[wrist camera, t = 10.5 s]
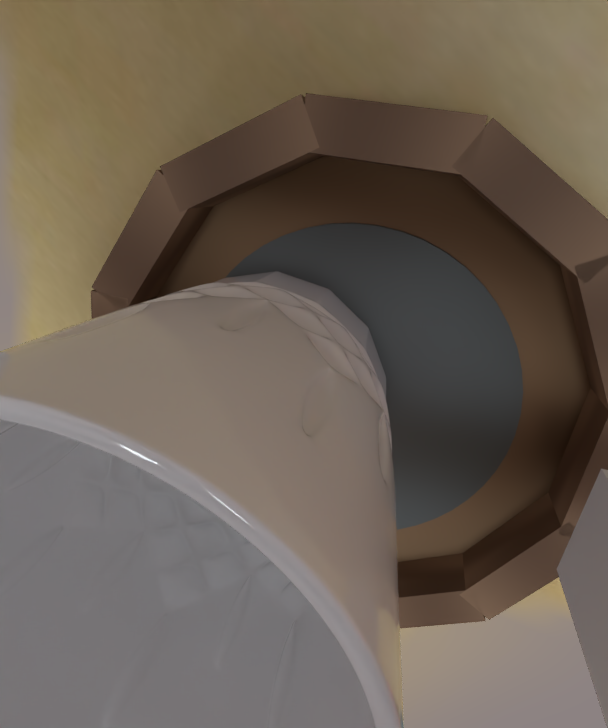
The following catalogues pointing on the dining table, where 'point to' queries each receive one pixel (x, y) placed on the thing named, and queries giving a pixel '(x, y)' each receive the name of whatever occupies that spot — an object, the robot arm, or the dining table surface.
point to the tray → (418, 315)
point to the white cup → (200, 517)
